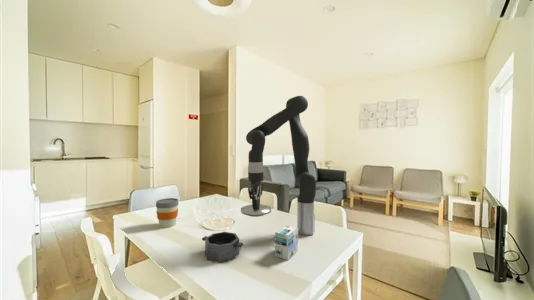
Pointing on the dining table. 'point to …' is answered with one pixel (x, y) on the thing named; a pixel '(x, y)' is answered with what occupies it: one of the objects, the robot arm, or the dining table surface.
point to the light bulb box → (286, 242)
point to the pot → (222, 246)
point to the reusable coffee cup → (167, 212)
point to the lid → (256, 209)
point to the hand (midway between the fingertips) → (256, 205)
